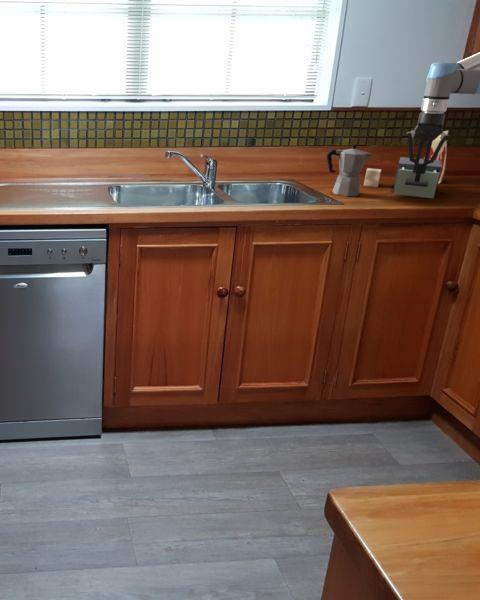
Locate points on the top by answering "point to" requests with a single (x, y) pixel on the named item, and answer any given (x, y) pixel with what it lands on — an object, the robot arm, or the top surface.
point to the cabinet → (408, 163)
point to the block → (372, 177)
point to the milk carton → (440, 154)
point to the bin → (416, 183)
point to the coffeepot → (348, 170)
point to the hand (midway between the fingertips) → (416, 182)
